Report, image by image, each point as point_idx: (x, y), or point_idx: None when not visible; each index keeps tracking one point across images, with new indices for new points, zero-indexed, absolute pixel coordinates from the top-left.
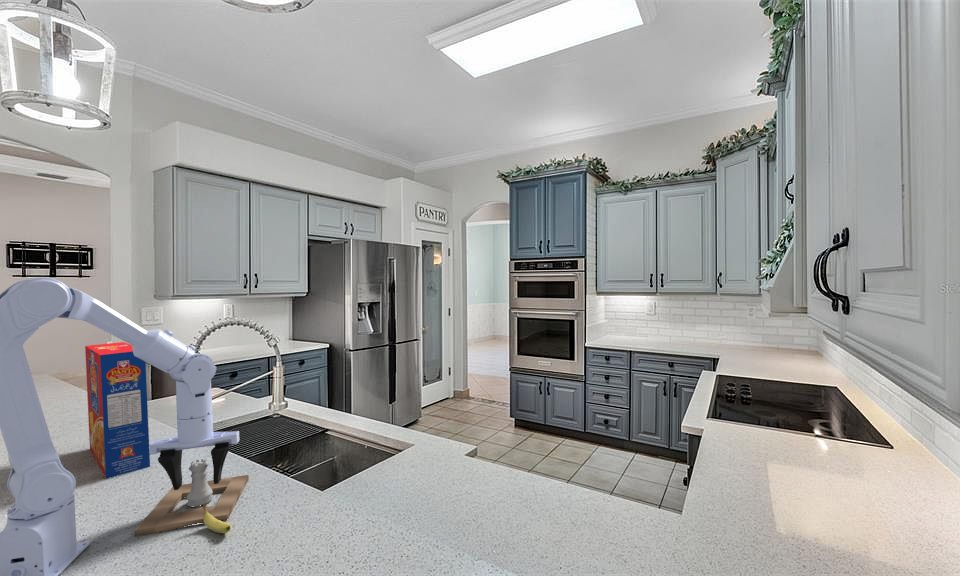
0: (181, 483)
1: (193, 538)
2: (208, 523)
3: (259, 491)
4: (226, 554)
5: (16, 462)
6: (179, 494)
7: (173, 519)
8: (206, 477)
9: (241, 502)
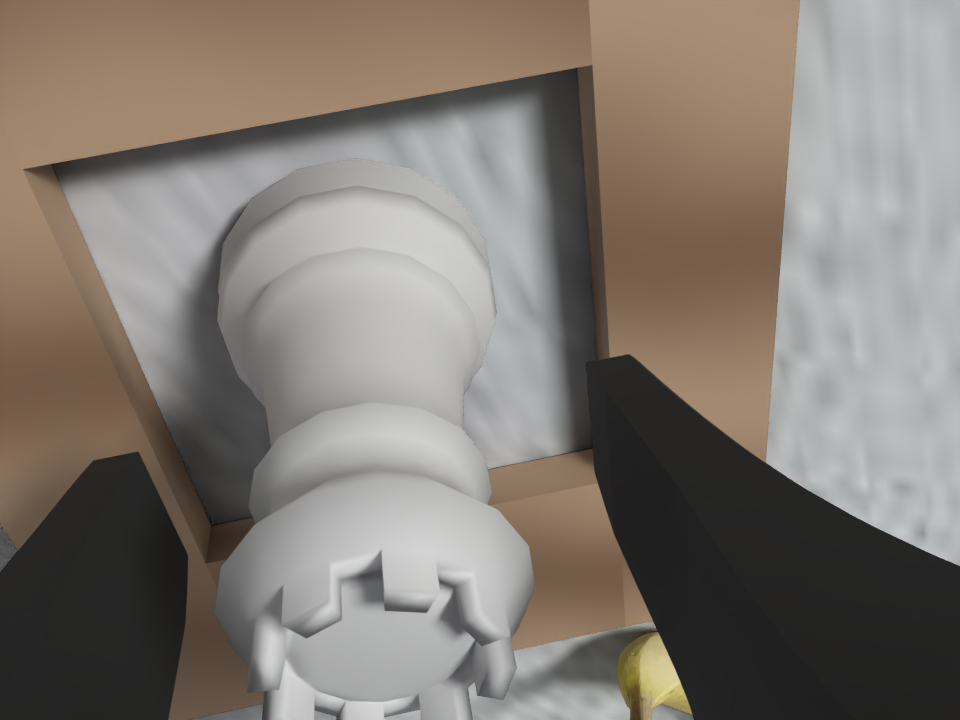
0: (139, 482)
1: (581, 707)
2: (665, 703)
3: (950, 129)
4: None
5: None
6: (9, 201)
7: None
8: (458, 418)
9: (793, 336)
